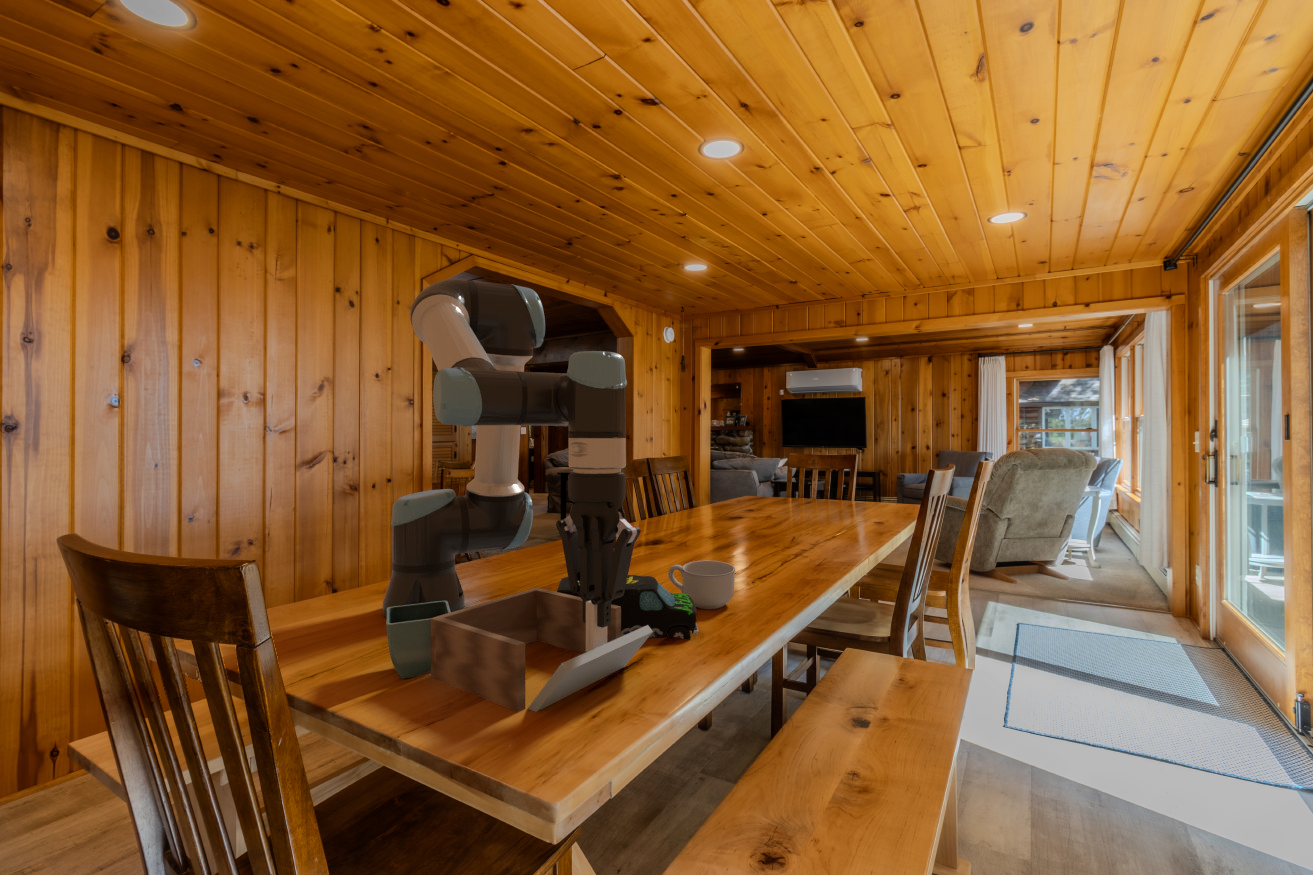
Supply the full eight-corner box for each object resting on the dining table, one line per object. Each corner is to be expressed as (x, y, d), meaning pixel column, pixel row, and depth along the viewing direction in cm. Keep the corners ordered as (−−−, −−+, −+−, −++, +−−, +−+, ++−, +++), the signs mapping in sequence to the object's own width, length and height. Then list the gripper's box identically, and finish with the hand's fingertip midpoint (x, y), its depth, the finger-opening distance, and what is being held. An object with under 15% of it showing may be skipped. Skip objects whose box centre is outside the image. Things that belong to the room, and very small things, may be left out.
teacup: (743, 602, 125) (743, 564, 125) (720, 616, 116) (720, 574, 116) (685, 592, 133) (685, 556, 133) (658, 604, 124) (658, 565, 124)
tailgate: (528, 707, 75) (561, 663, 72) (616, 663, 89) (647, 624, 86) (533, 715, 75) (567, 671, 71) (621, 670, 89) (653, 631, 85)
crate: (430, 685, 85) (430, 618, 85) (537, 644, 101) (537, 587, 101) (518, 722, 74) (517, 645, 74) (620, 669, 91) (621, 606, 91)
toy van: (699, 646, 101) (699, 586, 101) (549, 649, 99) (549, 589, 99) (691, 625, 111) (691, 571, 111) (555, 628, 110) (555, 573, 110)
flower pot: (386, 687, 84) (385, 623, 84) (386, 664, 92) (386, 606, 92) (452, 677, 88) (452, 615, 88) (447, 656, 96) (447, 599, 96)
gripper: (541, 469, 80) (541, 647, 81) (616, 474, 73) (616, 670, 73) (580, 467, 86) (580, 631, 87) (653, 471, 79) (653, 651, 79)
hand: (596, 649), depth 80 cm, fingers closed
